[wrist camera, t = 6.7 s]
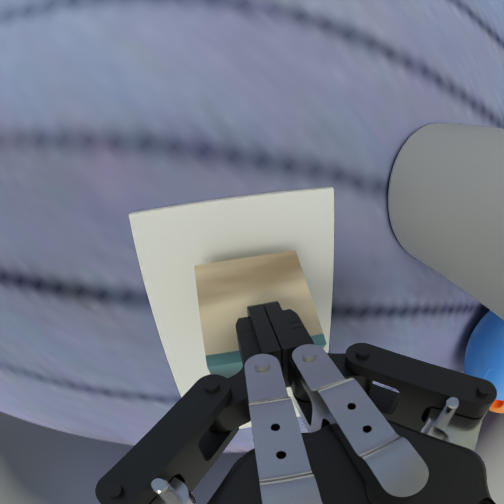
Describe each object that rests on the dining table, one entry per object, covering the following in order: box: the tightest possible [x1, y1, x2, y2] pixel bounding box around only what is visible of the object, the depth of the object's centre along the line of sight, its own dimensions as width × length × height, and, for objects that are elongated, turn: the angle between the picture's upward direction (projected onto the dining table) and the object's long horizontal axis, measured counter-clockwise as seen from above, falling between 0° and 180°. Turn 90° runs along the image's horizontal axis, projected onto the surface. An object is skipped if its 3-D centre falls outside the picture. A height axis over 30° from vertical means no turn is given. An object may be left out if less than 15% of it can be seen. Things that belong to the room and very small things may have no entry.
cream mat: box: [129, 187, 334, 429], centre depth 24 cm, size 24×14×1 cm, turn 5°
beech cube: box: [194, 250, 327, 378], centre depth 18 cm, size 6×6×6 cm
